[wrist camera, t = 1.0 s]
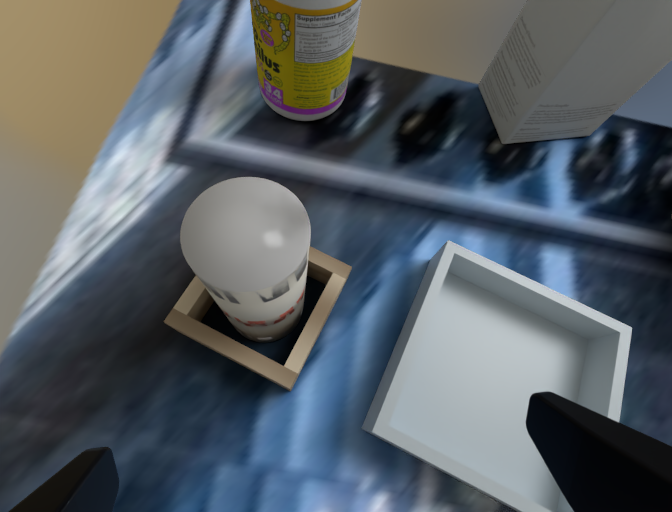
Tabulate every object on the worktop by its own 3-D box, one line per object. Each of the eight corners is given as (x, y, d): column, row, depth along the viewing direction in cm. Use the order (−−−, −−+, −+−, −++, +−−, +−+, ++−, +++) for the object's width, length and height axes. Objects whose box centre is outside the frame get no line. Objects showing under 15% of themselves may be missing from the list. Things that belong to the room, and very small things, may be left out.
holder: (290, 391, 20) (290, 389, 18) (177, 331, 21) (163, 321, 18) (346, 281, 23) (352, 267, 21) (245, 230, 24) (240, 212, 21)
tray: (556, 532, 19) (601, 553, 16) (361, 428, 20) (372, 432, 17) (592, 337, 23) (632, 327, 21) (430, 259, 24) (448, 240, 21)
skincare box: (560, 81, 32) (773, -180, 18) (592, 142, 30) (867, -103, 16) (472, 85, 31) (627, -194, 17) (498, 149, 28) (706, -112, 14)
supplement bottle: (252, 64, 29) (224, -170, 17) (333, 57, 30) (358, -167, 19) (268, 131, 27) (249, -87, 15) (355, 120, 28) (400, -90, 16)
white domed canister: (280, 356, 21) (271, 315, 12) (213, 320, 21) (152, 254, 12) (316, 290, 23) (331, 209, 13) (253, 258, 23) (226, 158, 14)
